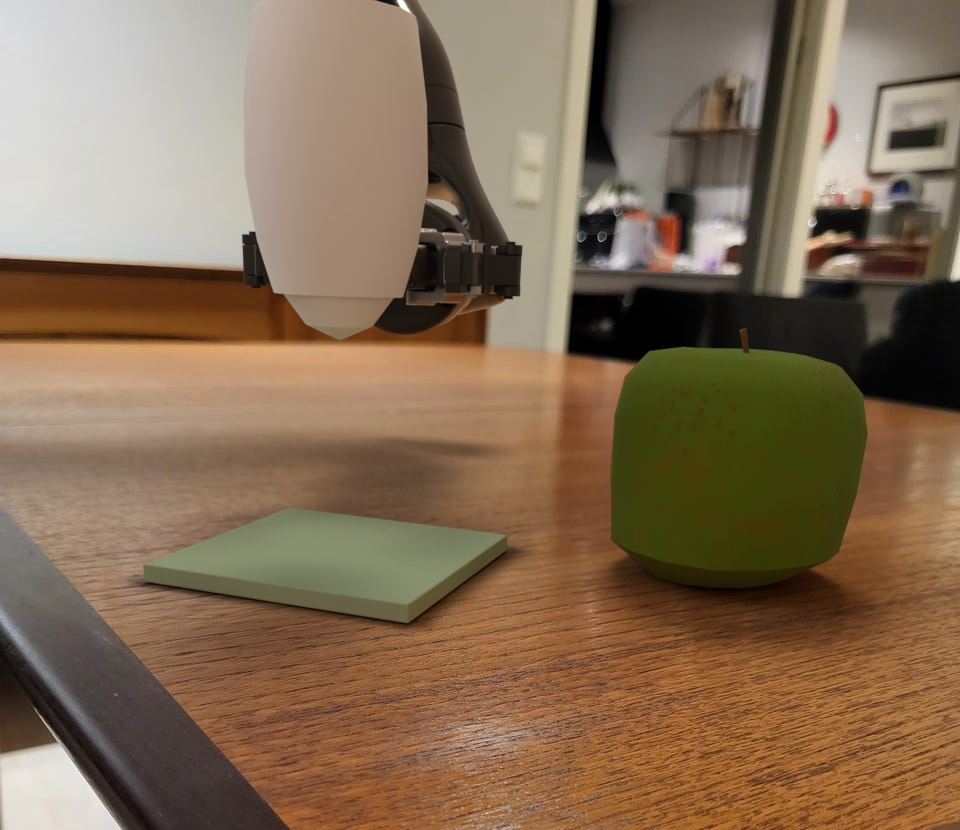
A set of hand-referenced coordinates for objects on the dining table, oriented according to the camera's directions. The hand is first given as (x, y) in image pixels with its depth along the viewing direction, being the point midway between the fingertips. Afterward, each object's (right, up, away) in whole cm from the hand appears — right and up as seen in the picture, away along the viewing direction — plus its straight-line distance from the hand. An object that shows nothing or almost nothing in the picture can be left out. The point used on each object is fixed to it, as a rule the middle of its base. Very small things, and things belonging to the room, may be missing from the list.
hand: (361, 264), depth 46 cm
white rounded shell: (-1, -13, -1) cm, 13 cm away
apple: (+17, -14, +1) cm, 22 cm away
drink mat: (-1, -14, -1) cm, 14 cm away
